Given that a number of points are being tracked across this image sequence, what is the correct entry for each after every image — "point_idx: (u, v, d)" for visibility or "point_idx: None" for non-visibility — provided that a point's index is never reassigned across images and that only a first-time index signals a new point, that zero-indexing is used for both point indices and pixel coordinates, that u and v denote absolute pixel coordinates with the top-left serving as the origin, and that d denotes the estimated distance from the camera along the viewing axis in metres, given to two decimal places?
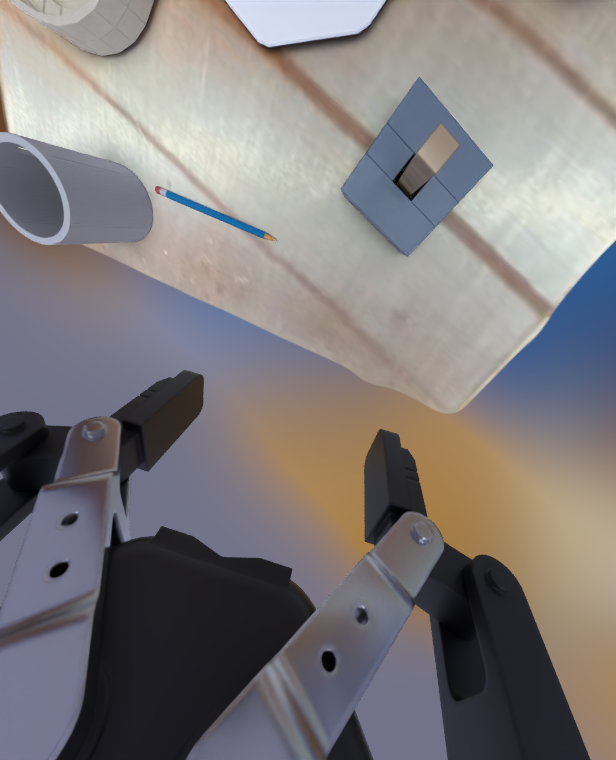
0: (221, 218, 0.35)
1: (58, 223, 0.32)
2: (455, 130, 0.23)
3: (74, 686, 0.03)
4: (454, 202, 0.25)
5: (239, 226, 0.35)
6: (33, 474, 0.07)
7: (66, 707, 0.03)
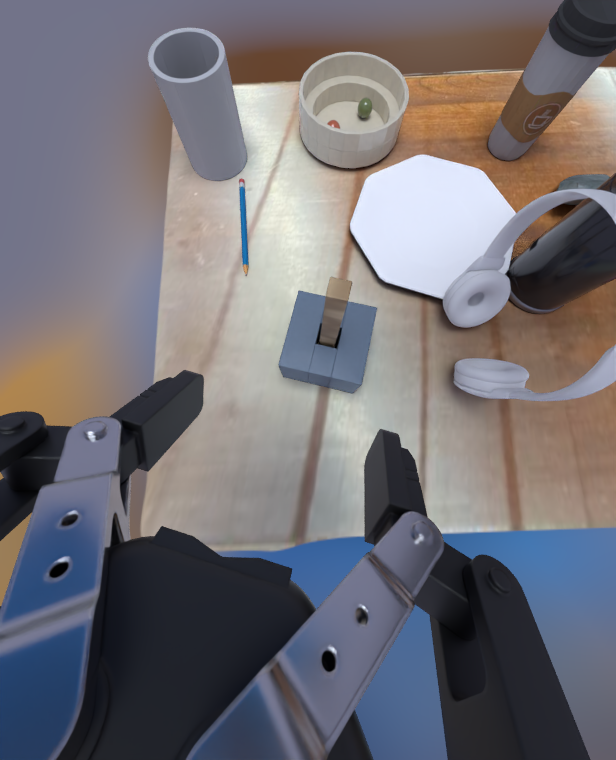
0: (242, 229, 0.40)
1: None
2: (365, 346, 0.30)
3: (74, 686, 0.03)
4: (329, 374, 0.30)
5: (243, 243, 0.39)
6: (33, 474, 0.07)
7: (66, 707, 0.03)
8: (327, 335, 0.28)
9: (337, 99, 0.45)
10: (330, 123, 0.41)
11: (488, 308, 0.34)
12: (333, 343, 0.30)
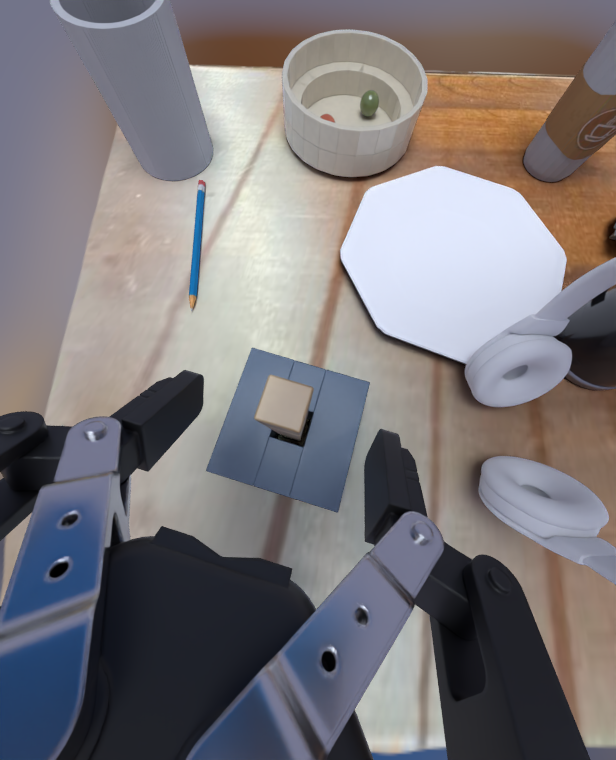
0: (194, 246, 0.29)
1: None
2: (348, 445, 0.19)
3: (74, 686, 0.03)
4: (287, 491, 0.18)
5: (192, 266, 0.28)
6: (33, 474, 0.07)
7: (66, 707, 0.03)
8: (285, 434, 0.17)
9: (335, 91, 0.35)
10: (323, 117, 0.31)
11: (532, 386, 0.23)
12: (298, 439, 0.19)
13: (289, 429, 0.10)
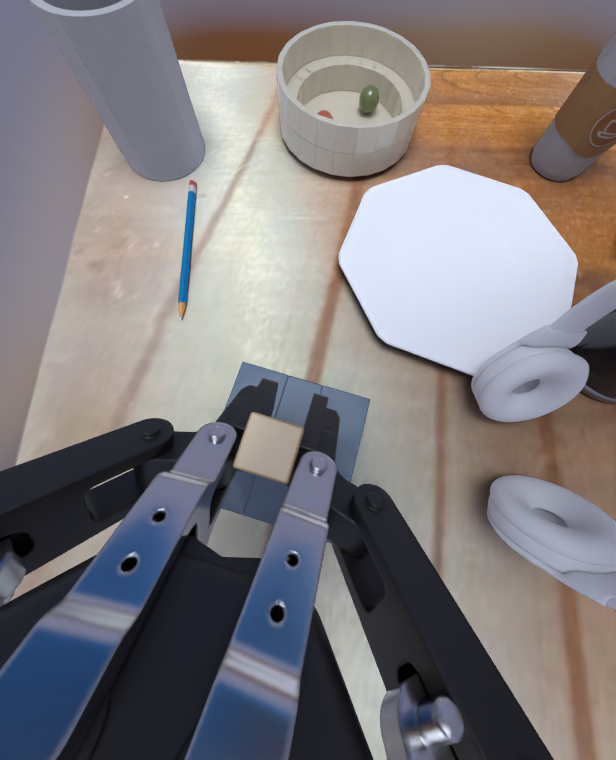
0: (184, 250, 0.28)
1: None
2: (346, 469, 0.18)
3: (74, 686, 0.03)
4: None
5: (182, 271, 0.27)
6: None
7: (66, 707, 0.03)
8: None
9: (333, 87, 0.34)
10: (320, 114, 0.30)
11: (545, 401, 0.22)
12: None
13: (274, 480, 0.08)
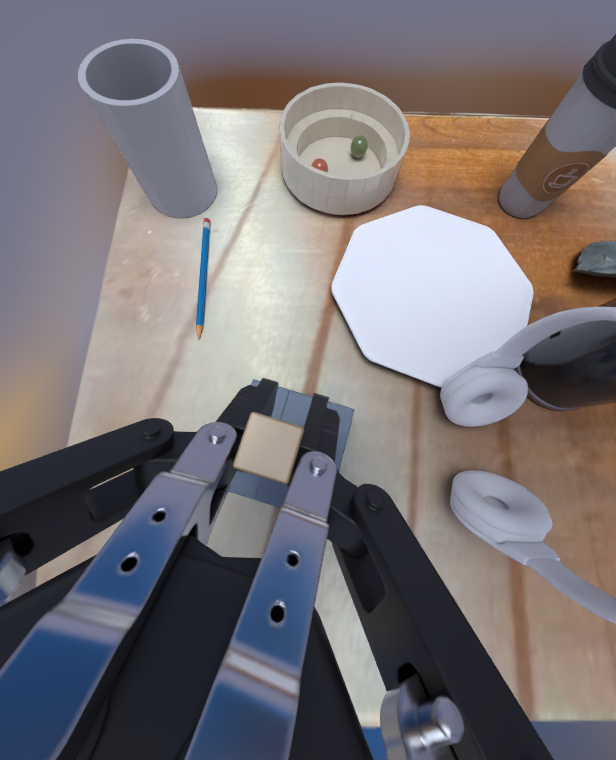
0: (200, 280, 0.32)
1: None
2: (335, 464, 0.23)
3: (74, 686, 0.03)
4: None
5: (199, 298, 0.32)
6: None
7: (66, 707, 0.03)
8: None
9: (328, 134, 0.39)
10: (316, 162, 0.35)
11: (497, 410, 0.27)
12: None
13: (274, 480, 0.08)
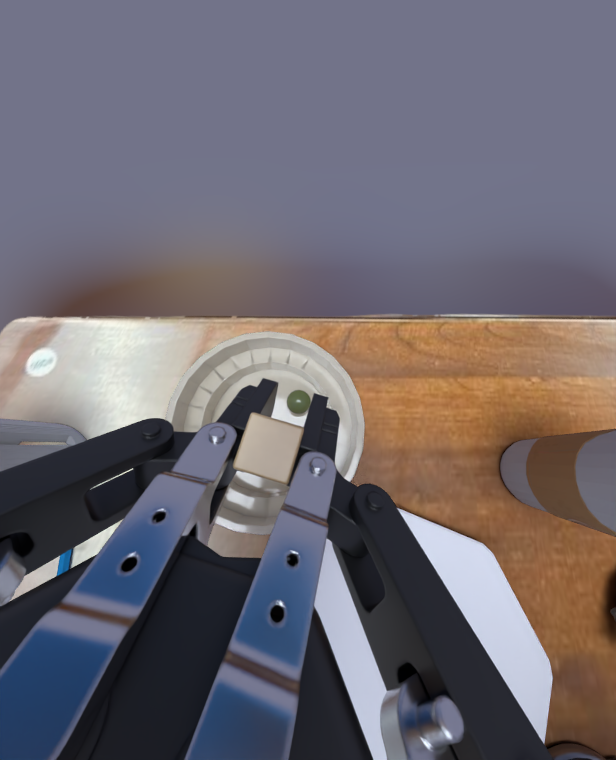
0: None
1: None
2: None
3: (74, 686, 0.03)
4: None
5: None
6: None
7: (66, 707, 0.03)
8: None
9: (258, 370, 0.27)
10: None
11: None
12: None
13: (274, 480, 0.08)
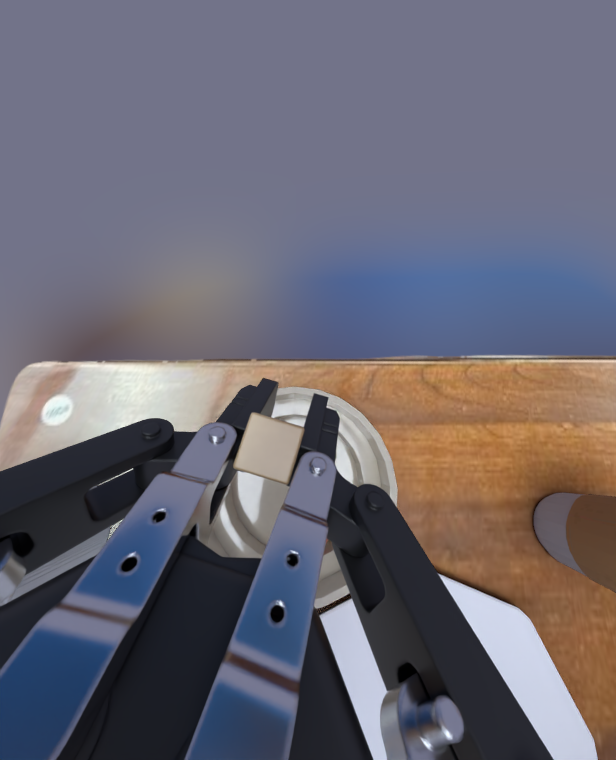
0: None
1: None
2: None
3: (74, 686, 0.03)
4: None
5: None
6: None
7: (66, 707, 0.03)
8: None
9: (281, 419, 0.26)
10: None
11: None
12: None
13: (275, 480, 0.08)
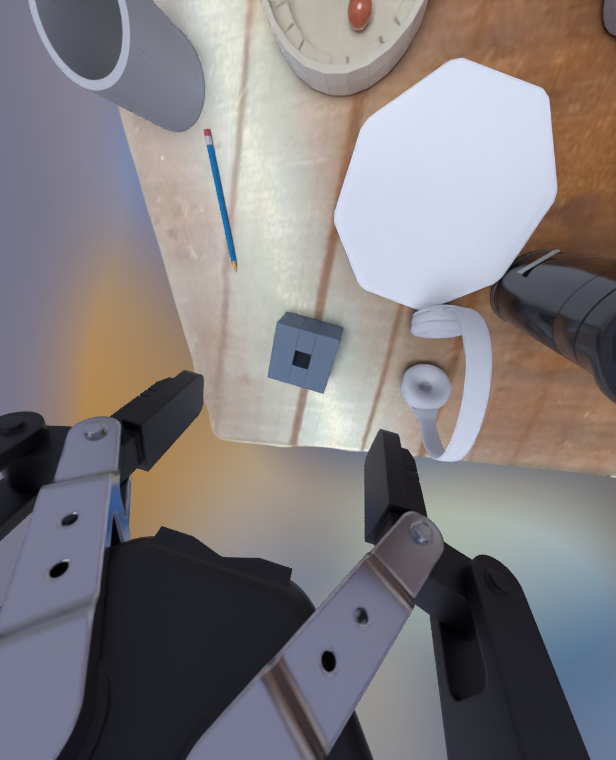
0: (222, 215, 0.38)
1: (84, 23, 0.26)
2: (328, 369, 0.41)
3: (74, 686, 0.03)
4: (302, 385, 0.43)
5: (226, 235, 0.39)
6: (33, 474, 0.07)
7: (66, 707, 0.03)
8: None
9: None
10: (352, 27, 0.27)
11: (448, 333, 0.37)
12: None
13: None
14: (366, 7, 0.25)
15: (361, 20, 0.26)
